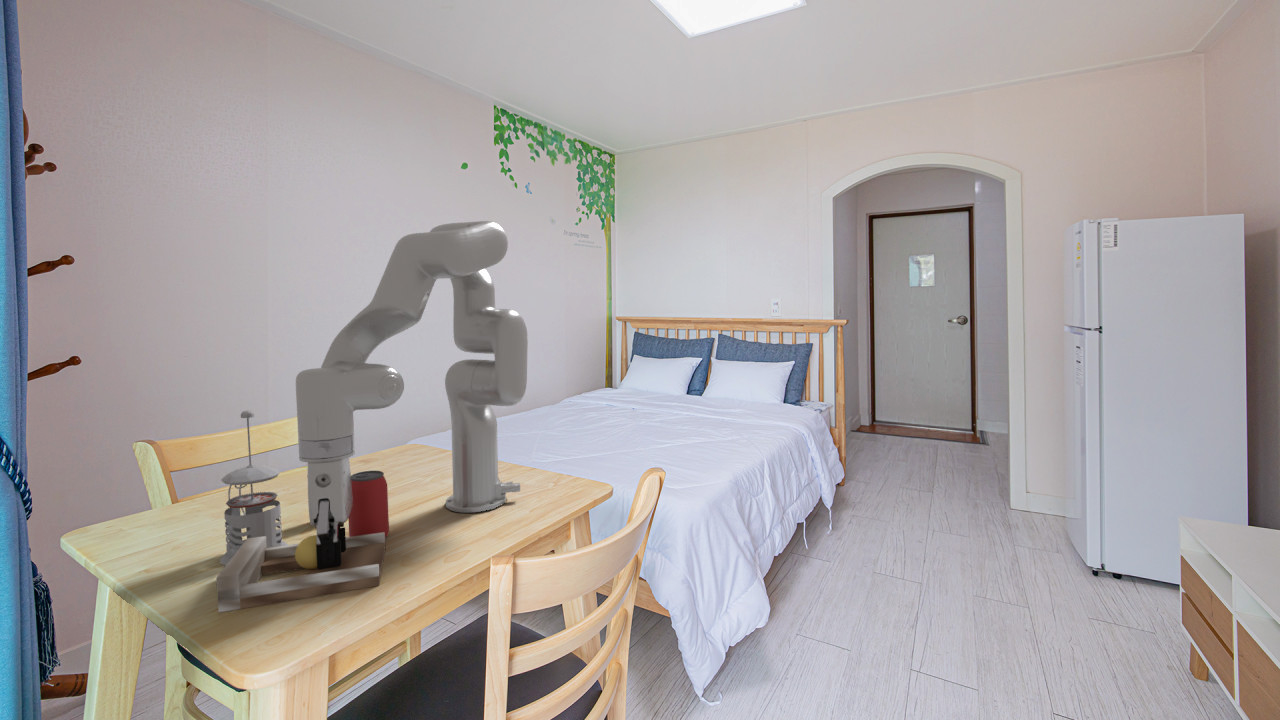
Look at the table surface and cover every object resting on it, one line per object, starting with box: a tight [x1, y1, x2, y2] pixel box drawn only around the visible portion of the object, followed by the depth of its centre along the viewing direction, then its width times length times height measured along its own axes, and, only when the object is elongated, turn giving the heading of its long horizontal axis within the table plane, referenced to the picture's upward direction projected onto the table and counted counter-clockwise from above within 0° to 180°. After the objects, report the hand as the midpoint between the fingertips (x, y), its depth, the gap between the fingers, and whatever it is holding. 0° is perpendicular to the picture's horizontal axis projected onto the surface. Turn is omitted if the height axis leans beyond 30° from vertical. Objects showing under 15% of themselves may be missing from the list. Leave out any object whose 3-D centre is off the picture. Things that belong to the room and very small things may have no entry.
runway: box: [216, 532, 386, 613], centre depth 84 cm, size 20×14×5 cm
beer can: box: [347, 470, 390, 538], centre depth 98 cm, size 7×7×12 cm
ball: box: [295, 534, 317, 570], centre depth 84 cm, size 5×5×5 cm
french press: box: [219, 409, 289, 566], centre depth 92 cm, size 10×12×25 cm
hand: (332, 558), depth 85 cm, fingers closed on ball, 4 cm apart
